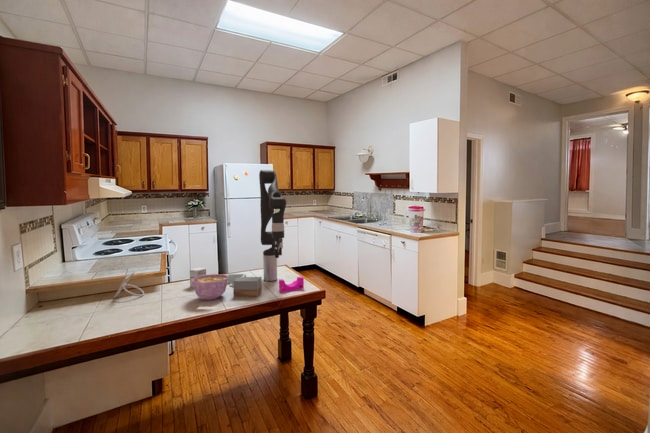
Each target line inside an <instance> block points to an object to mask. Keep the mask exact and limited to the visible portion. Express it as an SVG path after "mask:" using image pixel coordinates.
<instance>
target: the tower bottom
mask: <svg viewBox="0 0 650 433" xmlns="http://www.w3.org/2000/svg"><path fill="white" fill-rule="evenodd" d="M262 287H263V285H261V286H260V287H259V288H258V290H234V288H233V292H232V293H233V295H232V296H233V298H258V297H260V295H261V292H262V291H263V290H262V289H263V288H262Z"/></svg>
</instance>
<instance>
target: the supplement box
mask: <svg viewBox="0 0 650 433" xmlns="http://www.w3.org/2000/svg"><path fill="white" fill-rule="evenodd" d="M203 275H207V269H206V268H205V267H195V268H191V269H189V287H190V288H193V289H194V287H193V283H192V279H193V278H195V277H199V276H203Z"/></svg>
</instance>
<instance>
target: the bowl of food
mask: <svg viewBox="0 0 650 433" xmlns="http://www.w3.org/2000/svg"><path fill="white" fill-rule="evenodd" d="M192 283H193V287H194V288H193V287H192V288H193V290H194V292H195V294H196V296H197V297H199V298H200V299H202V300H205V301H212V300H216V299H218V298H219V297H221V296H222V295H224V293H226V289H227V285H228V274H221V273H220V274H219V273H217V274H216V273H213V274H212V273H211V274H206V275H203V276H199V277H195V278H193V279H192Z"/></svg>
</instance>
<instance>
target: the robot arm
mask: <svg viewBox="0 0 650 433" xmlns="http://www.w3.org/2000/svg"><path fill="white" fill-rule="evenodd" d="M258 173H259V174H258V179H259V191H260V204H259V205H260V243H261V245H262V246H271V247H270V248H267V249H264V250H263V252H262V256H263V257H262V260H263V262H262V263H263V280H264V281H267V282H272V281H273V282H274V281H276V280H278V259H279V258H280V256H282V255H283V252H282V251H283V248H284V246H283V243H284V242H283V240H284V238H285V223H284V222H285V221H284V220H285V219H284V217H285V216H284V215H285V211H286V207H287V200H286V198H285V197H282V196H281V192H280V190H279V186H278V184H279V183H278V178H277V173H276V171H275V170H271V169H260V170H259V172H258ZM266 184H268V185H269V186H268V188H266ZM275 210H279V211H278V212H275ZM270 221H271V231H267V226H268V224H269V223H270Z"/></svg>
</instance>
